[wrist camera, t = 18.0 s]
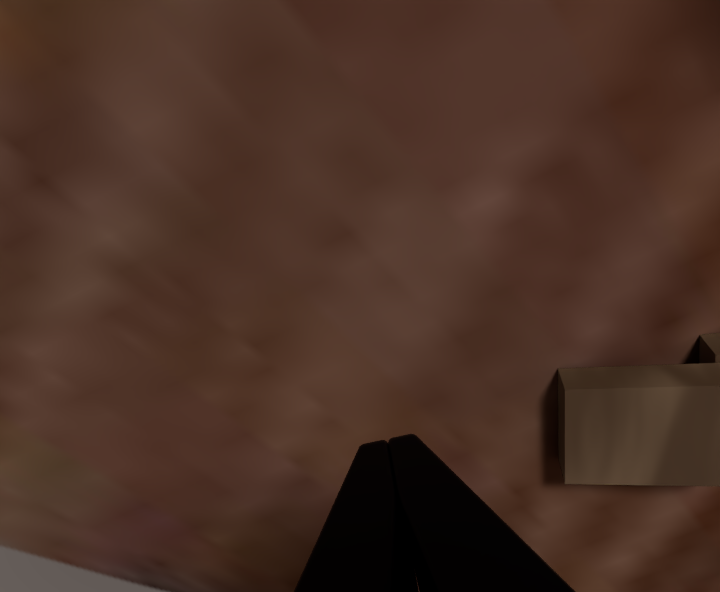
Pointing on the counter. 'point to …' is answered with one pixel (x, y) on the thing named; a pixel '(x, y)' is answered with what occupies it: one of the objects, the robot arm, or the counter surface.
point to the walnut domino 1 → (640, 425)
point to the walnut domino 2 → (709, 348)
